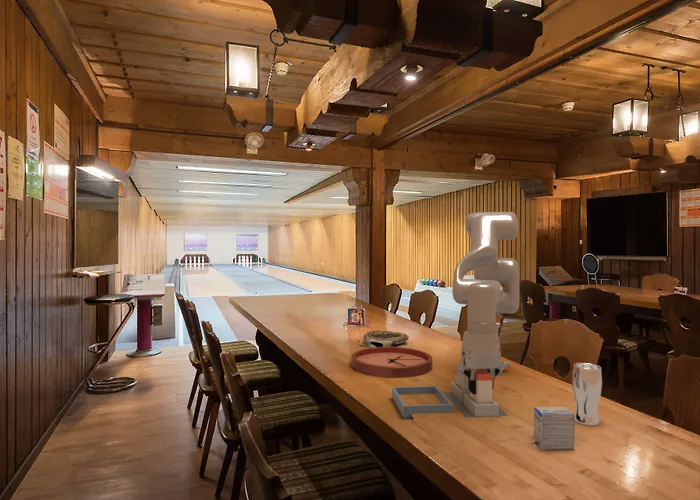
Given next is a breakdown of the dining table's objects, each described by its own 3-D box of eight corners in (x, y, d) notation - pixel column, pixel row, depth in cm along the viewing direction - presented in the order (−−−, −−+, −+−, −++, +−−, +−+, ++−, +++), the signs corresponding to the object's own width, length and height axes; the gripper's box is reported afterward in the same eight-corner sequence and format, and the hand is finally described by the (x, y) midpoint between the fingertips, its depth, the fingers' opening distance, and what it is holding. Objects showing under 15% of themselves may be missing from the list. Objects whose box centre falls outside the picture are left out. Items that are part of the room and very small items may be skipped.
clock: (351, 346, 189) (424, 346, 189) (351, 356, 189) (424, 356, 190) (351, 367, 158) (440, 367, 158) (351, 379, 158) (440, 379, 158)
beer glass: (575, 414, 125) (576, 361, 125) (603, 420, 121) (604, 365, 121) (569, 421, 120) (570, 366, 120) (598, 428, 115) (599, 371, 115)
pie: (358, 337, 227) (358, 327, 227) (412, 338, 226) (412, 328, 226) (357, 350, 199) (357, 339, 199) (418, 352, 198) (419, 340, 198)
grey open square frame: (436, 397, 139) (436, 385, 139) (453, 417, 123) (453, 404, 123) (391, 398, 137) (391, 387, 137) (403, 419, 121) (403, 406, 121)
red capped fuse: (483, 399, 128) (483, 368, 127) (492, 407, 122) (492, 374, 121) (469, 400, 127) (470, 368, 127) (478, 408, 121) (478, 375, 121)
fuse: (469, 392, 138) (469, 364, 138) (476, 399, 132) (476, 369, 132) (456, 393, 138) (456, 364, 138) (463, 400, 132) (463, 369, 132)
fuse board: (479, 395, 140) (479, 381, 140) (508, 421, 120) (508, 404, 120) (442, 396, 139) (442, 382, 139) (465, 422, 119) (465, 406, 119)
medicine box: (565, 441, 108) (565, 406, 108) (575, 450, 104) (575, 413, 103) (533, 442, 108) (533, 406, 108) (541, 450, 103) (542, 413, 103)
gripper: (504, 324, 128) (503, 387, 129) (447, 325, 127) (447, 389, 127) (516, 329, 121) (515, 396, 121) (456, 330, 119) (456, 398, 120)
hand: (480, 392), depth 124 cm, fingers closed on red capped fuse, 4 cm apart
